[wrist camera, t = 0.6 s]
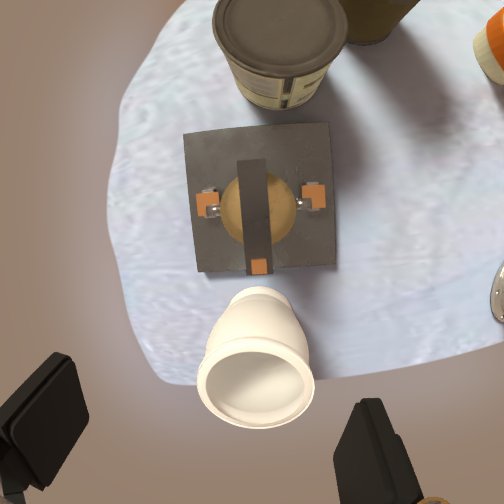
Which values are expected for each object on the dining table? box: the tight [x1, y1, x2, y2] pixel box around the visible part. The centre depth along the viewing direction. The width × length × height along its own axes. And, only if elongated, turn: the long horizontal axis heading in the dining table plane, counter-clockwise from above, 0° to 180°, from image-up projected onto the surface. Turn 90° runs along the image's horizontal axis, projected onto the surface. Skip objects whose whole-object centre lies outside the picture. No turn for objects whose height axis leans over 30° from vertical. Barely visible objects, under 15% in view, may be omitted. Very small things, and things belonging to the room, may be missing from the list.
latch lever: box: [206, 158, 312, 275], centre depth 23 cm, size 9×8×7 cm
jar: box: [197, 286, 315, 429], centre depth 32 cm, size 11×10×15 cm
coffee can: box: [212, 0, 348, 110], centre depth 25 cm, size 10×10×14 cm
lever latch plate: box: [183, 122, 335, 272], centre depth 31 cm, size 16×16×9 cm
